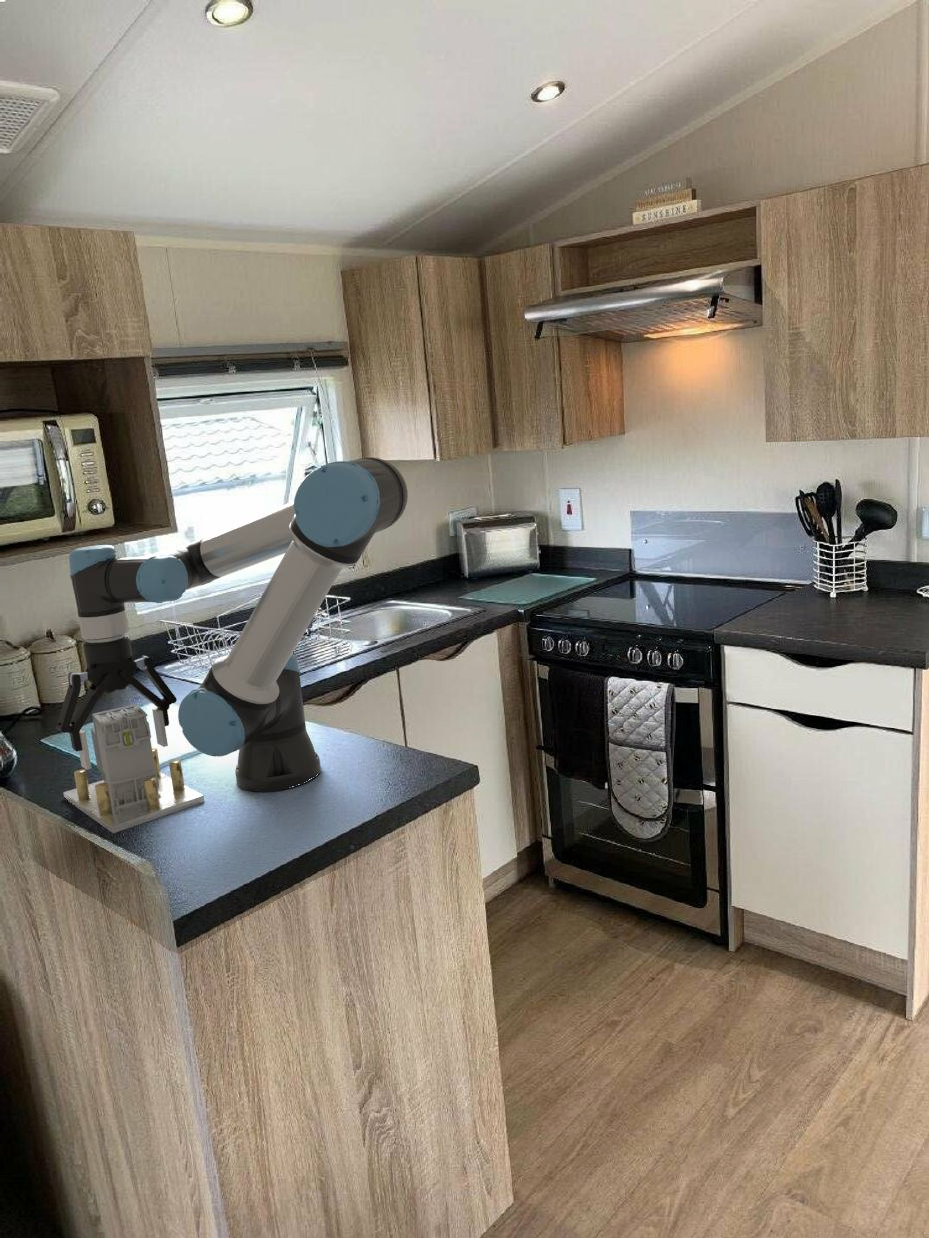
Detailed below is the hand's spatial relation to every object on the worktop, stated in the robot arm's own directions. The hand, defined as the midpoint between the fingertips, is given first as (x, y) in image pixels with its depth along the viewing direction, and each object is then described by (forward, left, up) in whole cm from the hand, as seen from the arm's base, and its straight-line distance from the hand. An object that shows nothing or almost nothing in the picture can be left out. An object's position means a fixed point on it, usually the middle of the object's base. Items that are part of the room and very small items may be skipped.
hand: (125, 756), depth 168 cm
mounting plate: (0, 0, -8) cm, 8 cm away
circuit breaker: (+2, -1, -7) cm, 7 cm away
